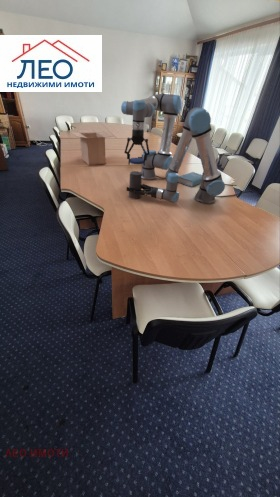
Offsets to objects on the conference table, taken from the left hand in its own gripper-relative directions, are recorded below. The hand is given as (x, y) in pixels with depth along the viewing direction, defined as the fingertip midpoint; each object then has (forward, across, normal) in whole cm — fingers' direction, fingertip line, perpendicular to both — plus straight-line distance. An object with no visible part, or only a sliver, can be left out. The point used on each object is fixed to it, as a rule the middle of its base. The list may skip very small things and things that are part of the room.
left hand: (136, 164), depth 155 cm
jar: (+24, 0, 0) cm, 24 cm away
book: (+24, +51, +40) cm, 69 cm away
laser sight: (+24, +9, +89) cm, 93 cm away
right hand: (+17, -4, +1) cm, 18 cm away
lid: (-3, 0, 0) cm, 3 cm away
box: (+24, -48, +84) cm, 100 cm away
